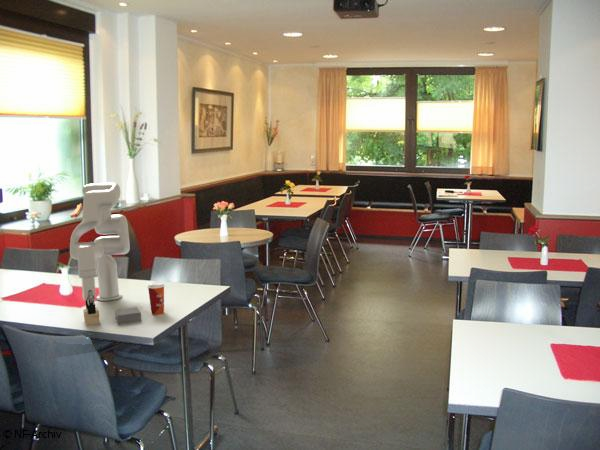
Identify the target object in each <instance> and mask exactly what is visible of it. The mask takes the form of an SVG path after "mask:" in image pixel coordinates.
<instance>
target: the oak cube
mask: <svg viewBox="0 0 600 450" xmlns="http://www.w3.org/2000/svg"><path fill="white" fill-rule="evenodd" d="M95 309H96V313H95V314H88V308H86V307H85V308H83V316H84V317H83V318H84V325H85V326H90V324H92V325H97V323H99V324H101V320H100V318H101V317H100V309H99V308H98V306H95Z"/></svg>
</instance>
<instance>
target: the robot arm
mask: <svg viewBox="0 0 600 450" xmlns="http://www.w3.org/2000/svg"><path fill="white" fill-rule="evenodd" d="M82 195H83V200H82V201H83V203H82V216H81V217H82V218H81V221H80V223H79V224H77V225H76V226H75V228H74V229H73V231H72V233H71V236H70V239H69V241H70V243H69V255H70V257H71V258H72V259H73V260H77V267H78V268H77V269H78V278H80V279H81V292H82V299H83V301H85V309H86V308H88V314H95V313H96V309H95V307H96V304H95V299H96V300H97V301H100V302H101V301H102V302H105V301H106V302H108V301H109V302H110V301H115V300H118V299H121V298H122V297H123V293H121V292H120V289H119V280H118V279H119V278H118V268H117V267H118V264H117V261H116V260H115V258H114V257H113V256H116V255H117V256H118V255H127V254H128V253H129V252H130V250H131V249H130V247H131V245H130V244H131V243H130V235H129V225H128V220H127V217H126V216H125V215H124V214H112V212H111V209H113V208H115V207H116V205H117V204H118V201H119V199H120V197H121V188H120V185H119V184H118V183H115V182H100V183H99V182H98V183H88V184H85V185H83V187H82ZM93 229H94V231H95V233H96V234H98V235H105V236H99V237H96V238H95V239H94V240H93V241H91V242H89V241H88V242H85V241H84V242H83V241H82V242H79V240H80V238H81V237H82V236H83V235H84V234H85V233H87V232H90V231H91V230H93ZM96 277H97V281H98V282H97V283H98V295H97V296H96V281H95V278H96Z"/></svg>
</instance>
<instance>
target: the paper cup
mask: <svg viewBox="0 0 600 450" xmlns="http://www.w3.org/2000/svg"><path fill="white" fill-rule="evenodd" d="M147 289H148V296H149V304H150V305H149V306H150V311H151V315H154V316H159V315H162V314H163V315H164V313H165V284H164V282H162V281H153V282H149V283H148V284H147Z"/></svg>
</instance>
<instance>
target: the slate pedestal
mask: <svg viewBox="0 0 600 450" xmlns="http://www.w3.org/2000/svg"><path fill="white" fill-rule="evenodd" d="M114 320H115V321H116V323H117V325H123V324H131V322H132V323H137V322H138V321H139V322H142V313H141V311H140V309H139V308H138V306H134V307H132V306H131V307H127V308H120V309H114Z"/></svg>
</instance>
